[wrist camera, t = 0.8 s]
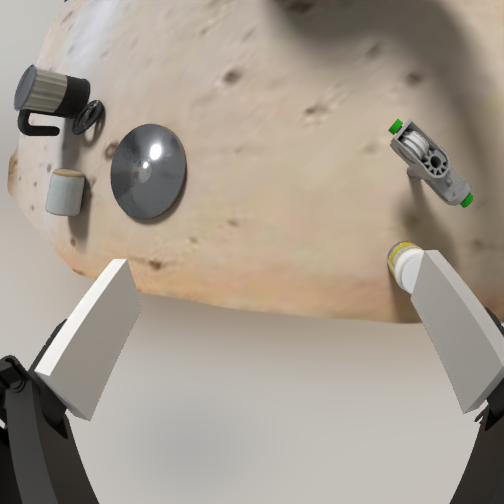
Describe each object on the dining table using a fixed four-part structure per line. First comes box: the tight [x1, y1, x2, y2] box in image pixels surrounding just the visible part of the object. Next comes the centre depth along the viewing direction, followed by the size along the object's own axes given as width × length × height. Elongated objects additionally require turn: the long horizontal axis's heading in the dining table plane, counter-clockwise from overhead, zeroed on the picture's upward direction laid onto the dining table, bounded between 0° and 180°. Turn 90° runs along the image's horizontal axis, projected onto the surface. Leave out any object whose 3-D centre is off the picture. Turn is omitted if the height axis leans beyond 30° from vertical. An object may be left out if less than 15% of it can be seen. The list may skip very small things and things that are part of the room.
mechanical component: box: [388, 118, 473, 208], centre depth 25 cm, size 3×10×10 cm, turn 50°
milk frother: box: [14, 65, 103, 136], centre depth 37 cm, size 14×16×15 cm
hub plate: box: [111, 124, 187, 219], centre depth 40 cm, size 15×15×1 cm
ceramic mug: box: [45, 169, 85, 216], centre depth 44 cm, size 11×8×8 cm
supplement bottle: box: [387, 241, 424, 294], centre depth 28 cm, size 5×5×8 cm
